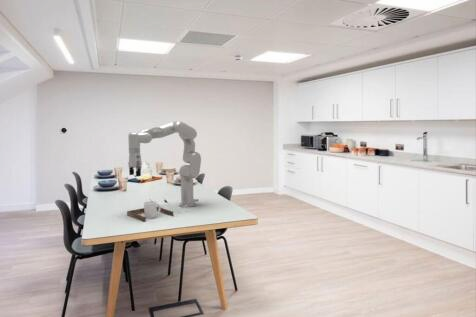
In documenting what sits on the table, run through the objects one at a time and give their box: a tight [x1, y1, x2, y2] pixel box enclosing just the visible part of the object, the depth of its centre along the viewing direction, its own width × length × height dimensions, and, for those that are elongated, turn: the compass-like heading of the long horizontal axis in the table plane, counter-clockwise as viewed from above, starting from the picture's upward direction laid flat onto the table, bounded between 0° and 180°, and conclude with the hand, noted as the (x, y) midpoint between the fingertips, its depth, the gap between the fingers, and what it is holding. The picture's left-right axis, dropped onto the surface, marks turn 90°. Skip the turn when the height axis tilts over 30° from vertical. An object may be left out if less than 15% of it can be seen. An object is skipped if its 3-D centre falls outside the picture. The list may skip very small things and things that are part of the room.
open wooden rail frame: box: [126, 206, 174, 223], centre depth 254 cm, size 22×24×3 cm
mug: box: [143, 200, 162, 220], centre depth 250 cm, size 12×8×10 cm
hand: (135, 175), depth 252 cm, fingers open, 9 cm apart
